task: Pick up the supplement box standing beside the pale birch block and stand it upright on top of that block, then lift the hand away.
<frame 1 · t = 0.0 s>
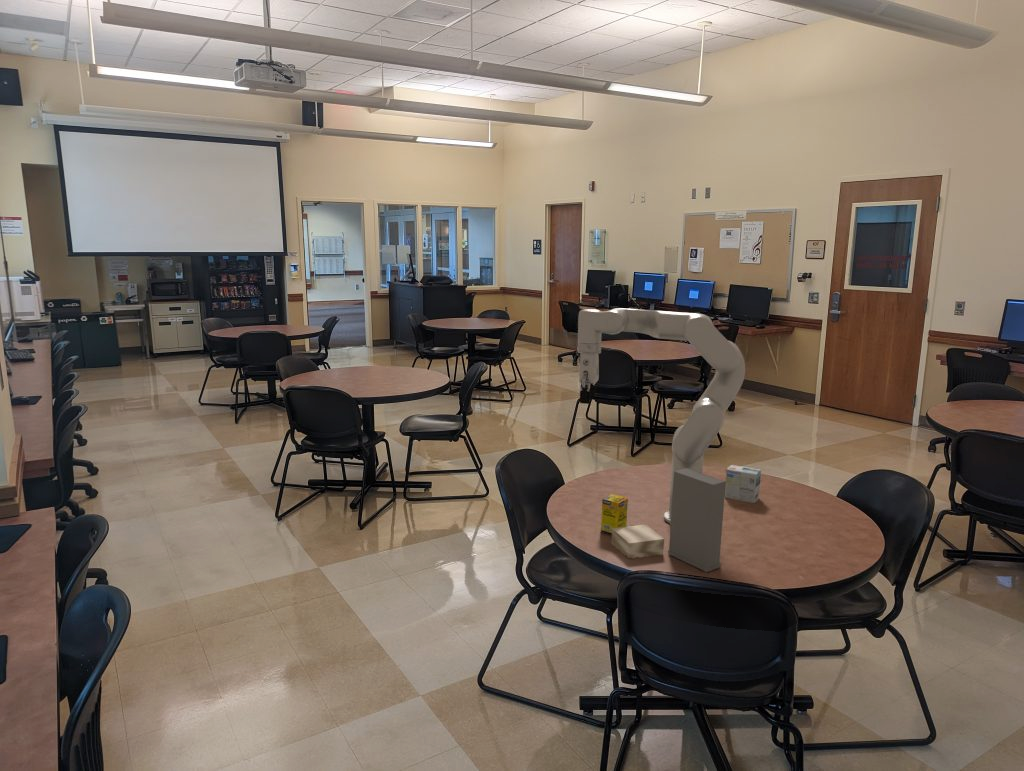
hand: (587, 400, 225), 37 cm above the table, fingers open, 9 cm apart
upright grey panel: (694, 561, 194), on the table
birch block: (636, 549, 202), on the table
supplement box: (613, 532, 213), on the table
light bulb box: (741, 498, 244), on the table
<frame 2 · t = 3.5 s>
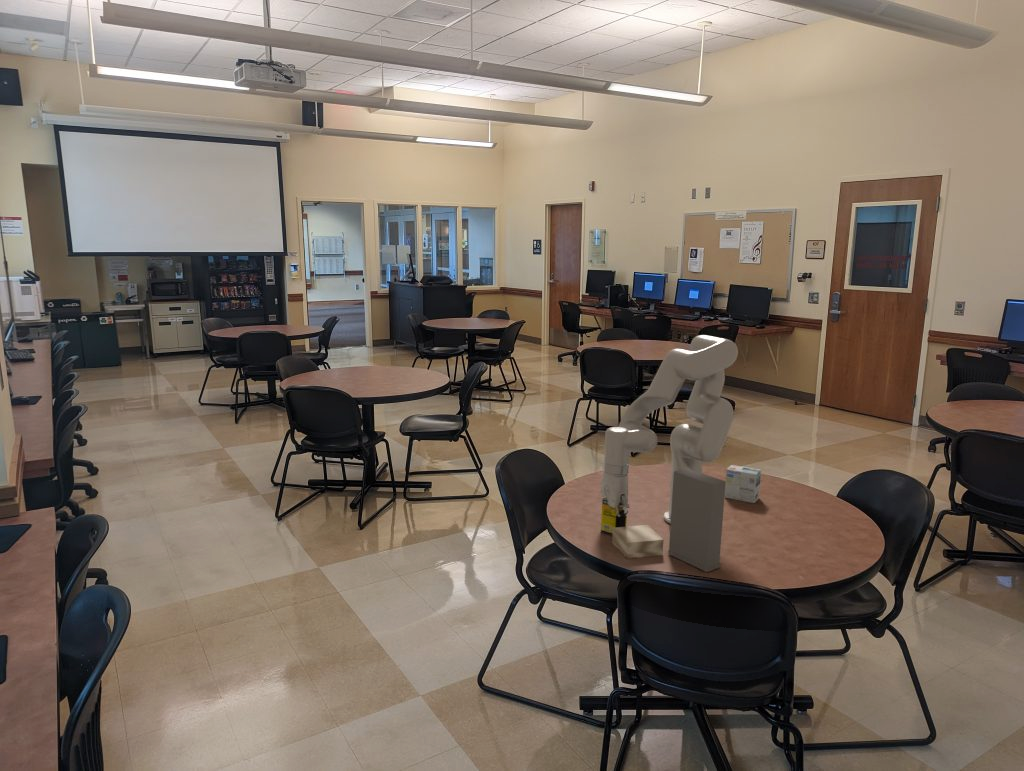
hand: (613, 522, 213), 3 cm above the table, fingers closed on supplement box, 8 cm apart
supplement box: (613, 532, 213), on the table, touching gripper
everything else where it was.
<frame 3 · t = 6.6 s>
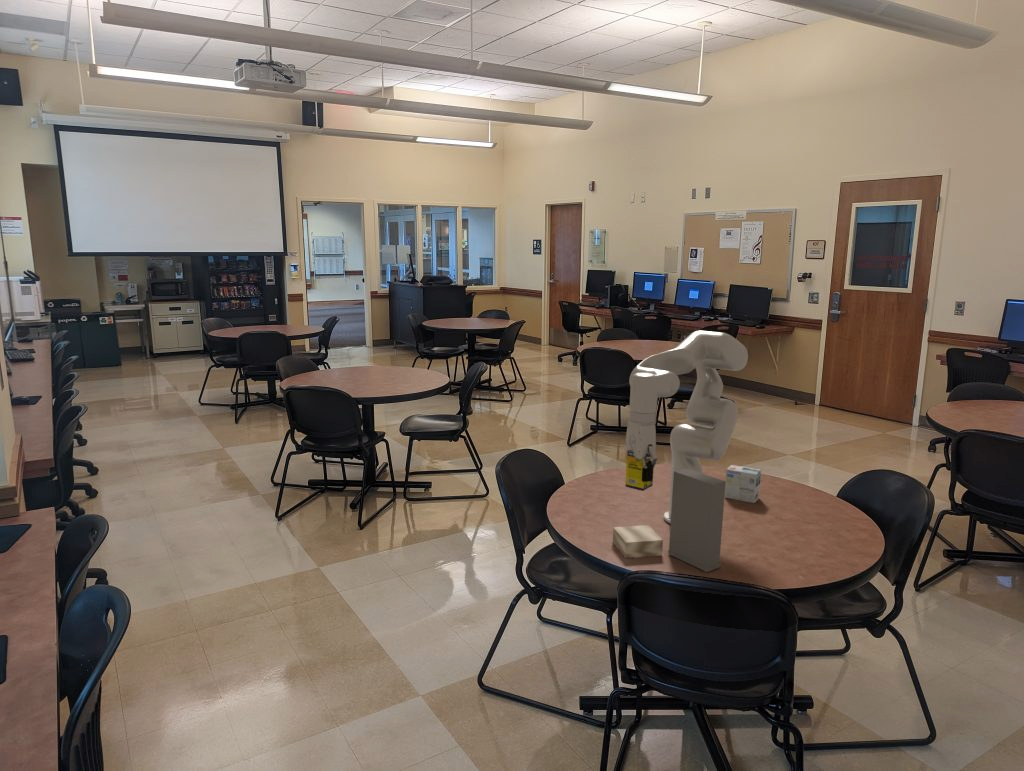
hand: (639, 476, 198), 22 cm above the table, fingers closed on supplement box, 8 cm apart
supplement box: (639, 487, 198), point 19 cm above the table, touching gripper
everything else where it was.
when the fingers open (9 cm above the table, at t = 9.6 s): supplement box drops 2 cm, resting on birch block.
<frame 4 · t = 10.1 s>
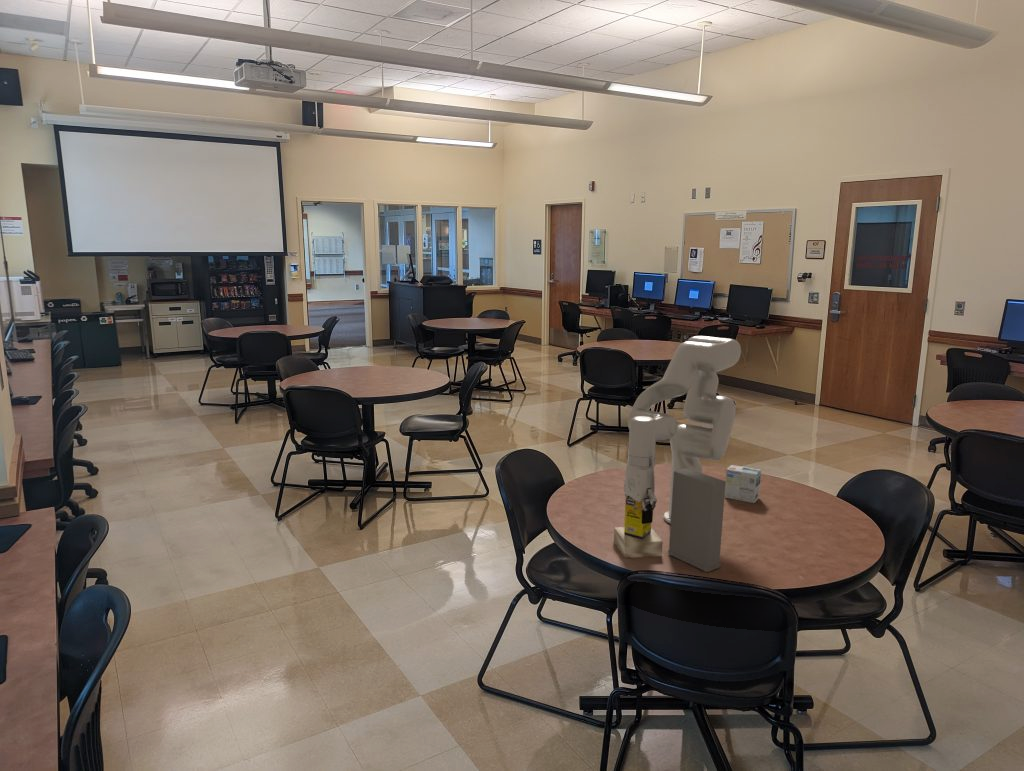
hand: (638, 516, 200), 10 cm above the table, fingers open, 9 cm apart
birch block: (637, 550, 202), on the table, touching supplement box
supplement box: (637, 534, 201), point 4 cm above the table, touching birch block
everything else where it was.
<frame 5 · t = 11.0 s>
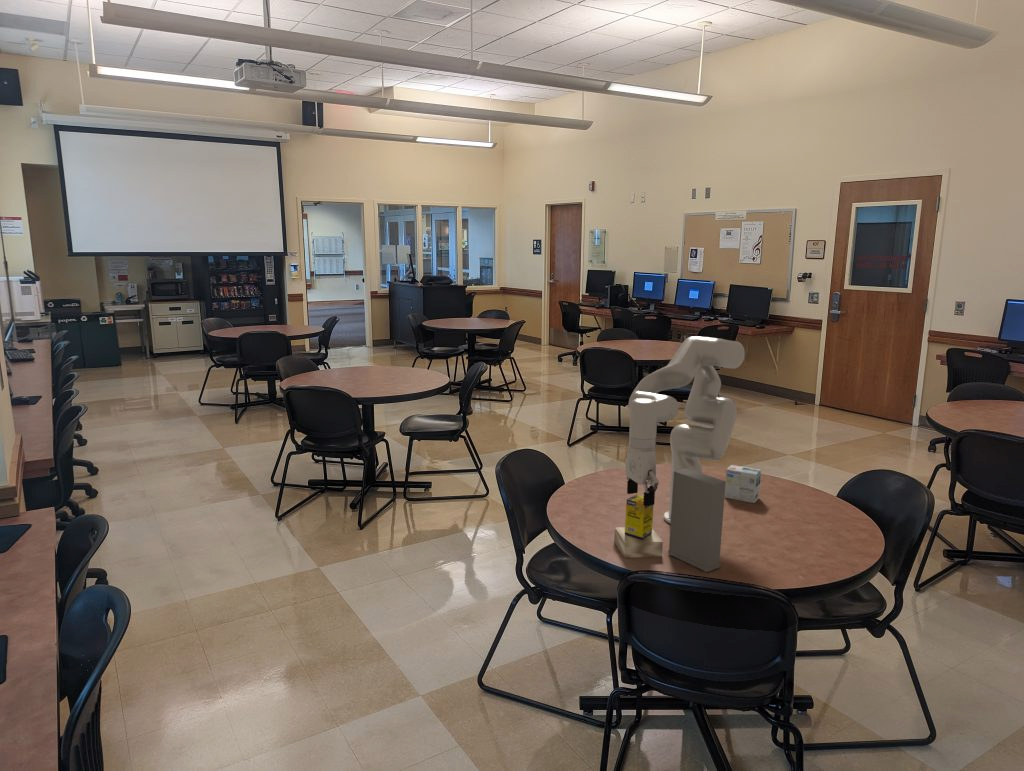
hand: (640, 499, 199), 15 cm above the table, fingers open, 9 cm apart
supplement box: (638, 535, 200), point 4 cm above the table, touching birch block, gripper
everything else where it was.
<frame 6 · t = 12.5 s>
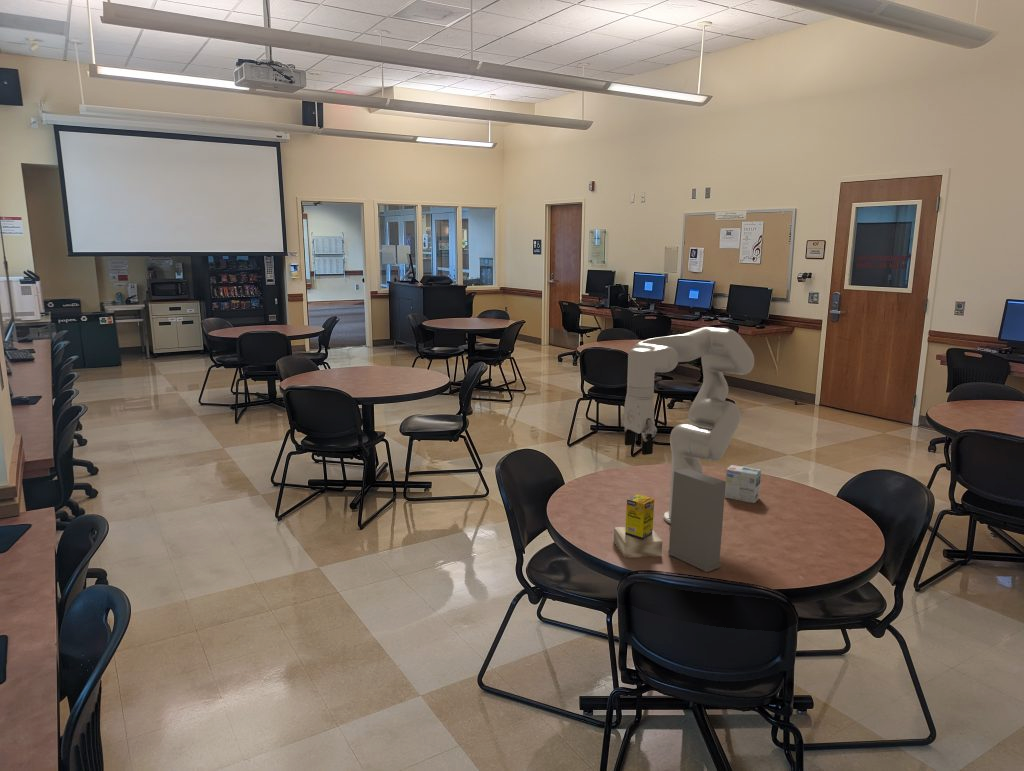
hand: (638, 449, 200), 29 cm above the table, fingers open, 9 cm apart
supplement box: (638, 535, 200), point 4 cm above the table, touching birch block
everything else where it was.
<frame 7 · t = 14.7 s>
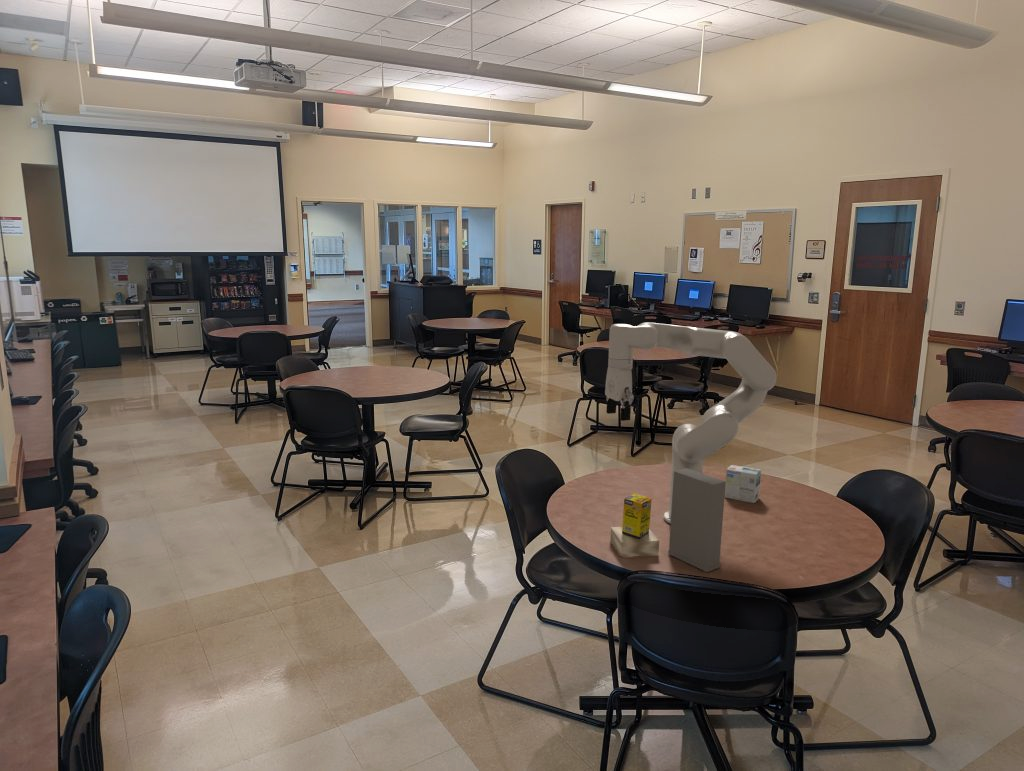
hand: (618, 416, 220), 33 cm above the table, fingers open, 9 cm apart
at the end: supplement box inside the target area on the birch block (0.3 cm from its centre), point 5.0 cm above the birch block's base; supplement box tilted 3° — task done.
